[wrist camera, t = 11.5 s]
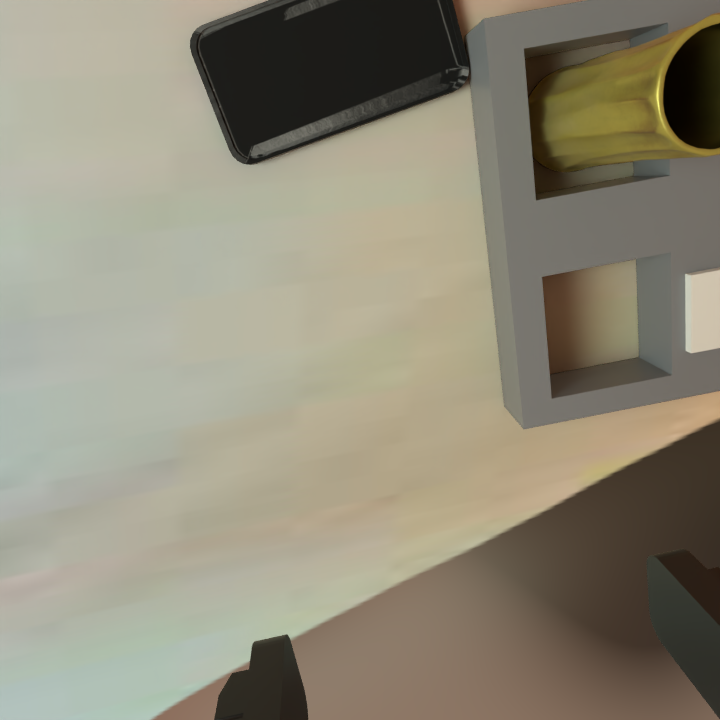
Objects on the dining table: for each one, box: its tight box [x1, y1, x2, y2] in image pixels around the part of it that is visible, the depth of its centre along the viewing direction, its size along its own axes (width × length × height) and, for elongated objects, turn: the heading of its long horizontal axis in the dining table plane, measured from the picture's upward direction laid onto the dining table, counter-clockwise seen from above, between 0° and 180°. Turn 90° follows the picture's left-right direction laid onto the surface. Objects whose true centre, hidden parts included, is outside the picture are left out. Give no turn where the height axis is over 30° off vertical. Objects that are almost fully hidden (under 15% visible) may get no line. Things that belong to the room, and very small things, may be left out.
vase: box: [528, 13, 720, 172], centre depth 30 cm, size 6×6×14 cm
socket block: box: [465, 0, 720, 429], centre depth 36 cm, size 24×15×5 cm, turn 10°
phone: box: [190, 0, 469, 165], centre depth 34 cm, size 8×1×15 cm
